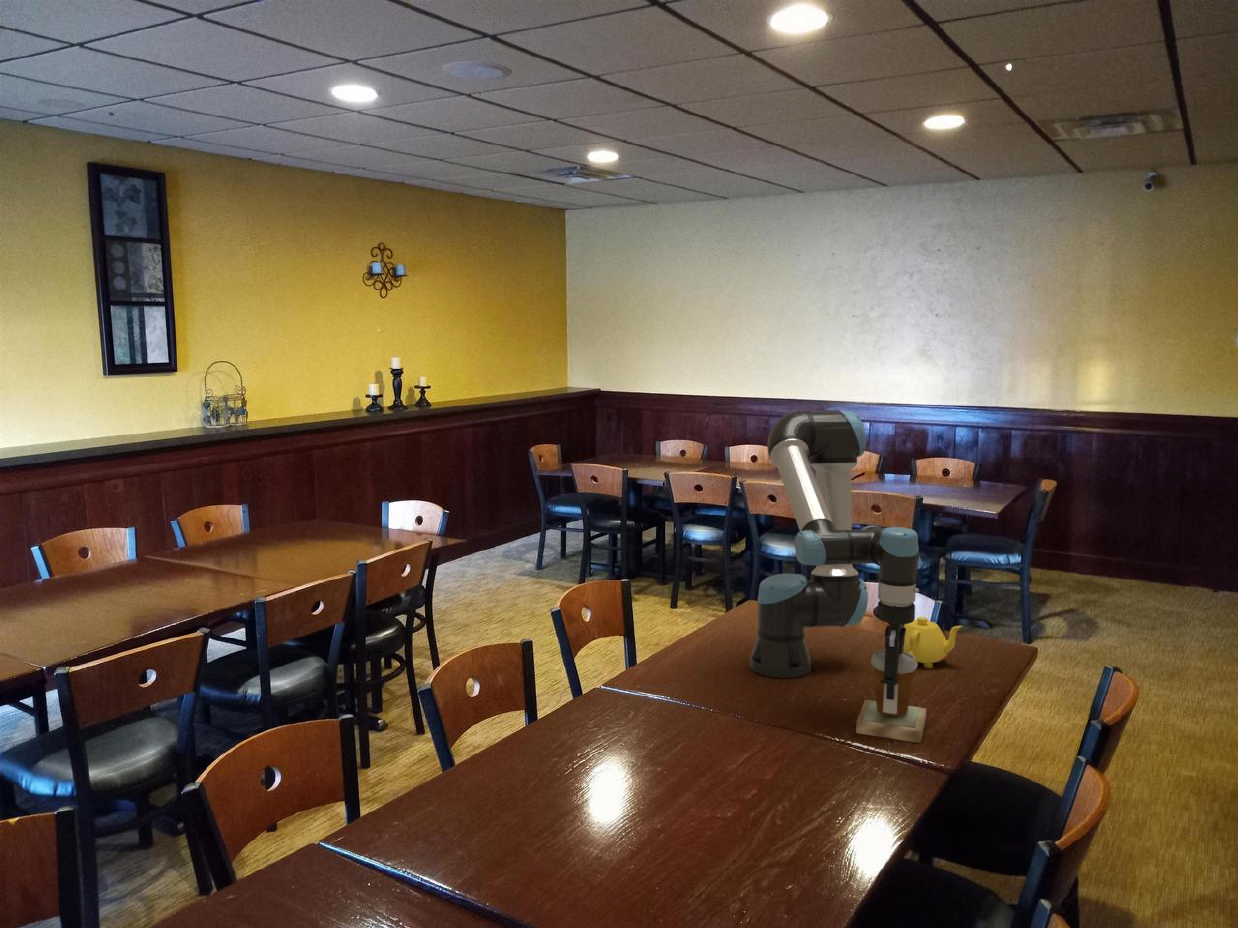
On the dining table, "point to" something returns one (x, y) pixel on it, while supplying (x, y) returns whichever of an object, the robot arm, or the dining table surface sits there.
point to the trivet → (891, 723)
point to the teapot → (927, 641)
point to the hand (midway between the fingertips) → (892, 704)
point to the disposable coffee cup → (904, 679)
